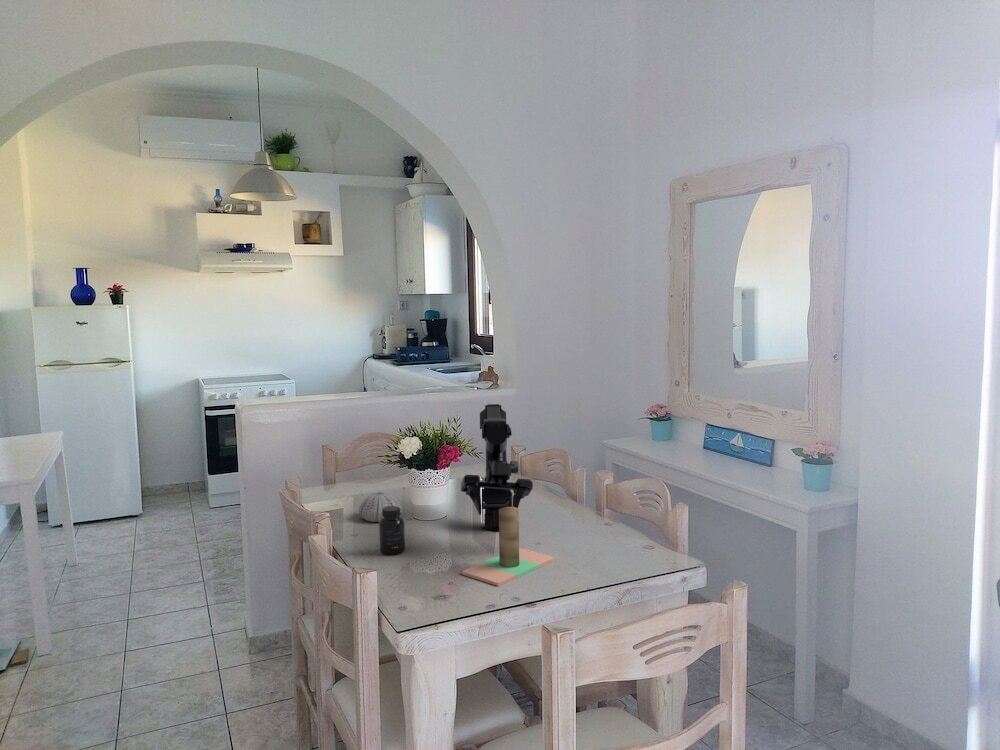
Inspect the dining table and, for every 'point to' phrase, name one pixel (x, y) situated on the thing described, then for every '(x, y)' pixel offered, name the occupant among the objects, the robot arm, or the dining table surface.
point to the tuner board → (500, 575)
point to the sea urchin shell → (376, 506)
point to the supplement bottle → (391, 531)
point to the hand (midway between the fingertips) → (497, 515)
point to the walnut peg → (509, 537)
